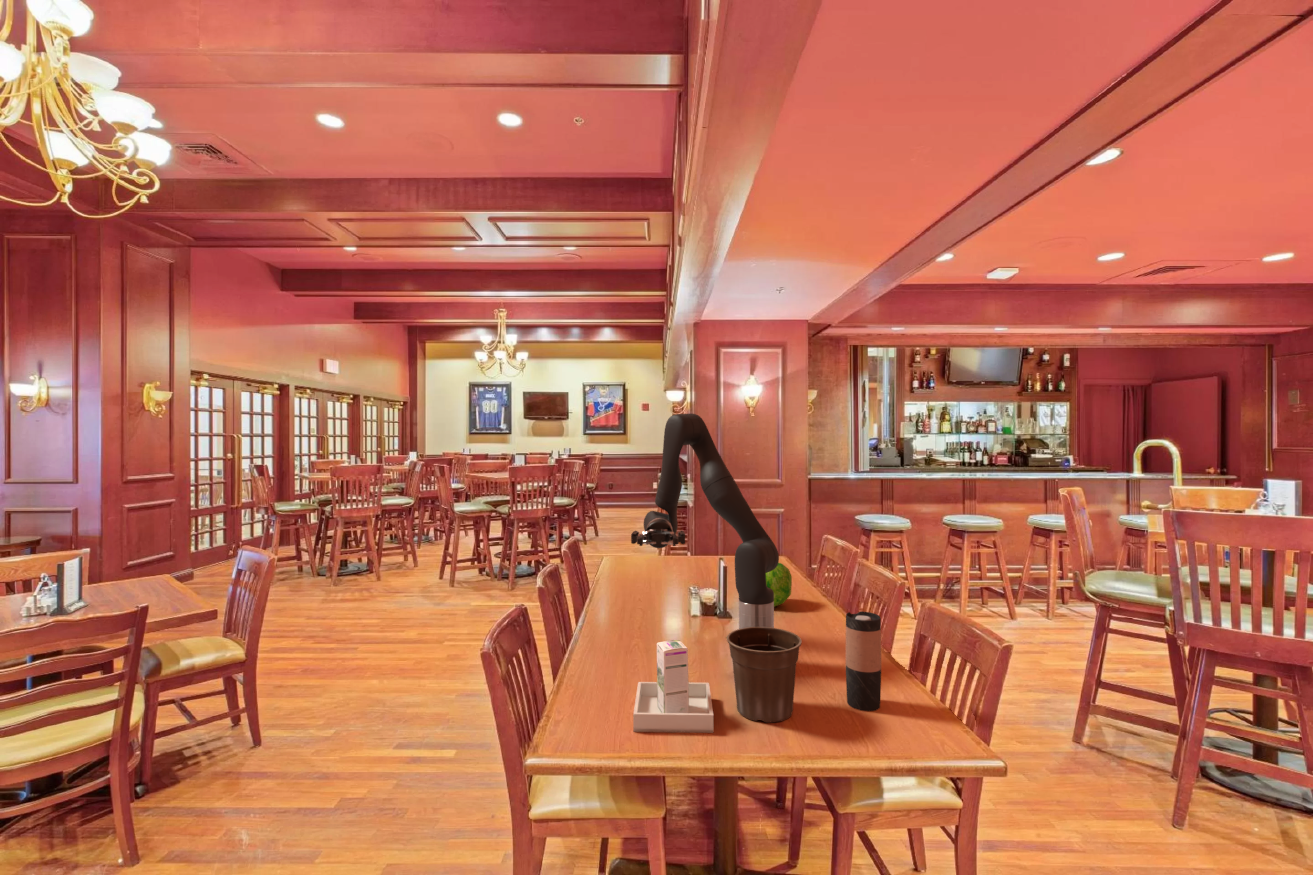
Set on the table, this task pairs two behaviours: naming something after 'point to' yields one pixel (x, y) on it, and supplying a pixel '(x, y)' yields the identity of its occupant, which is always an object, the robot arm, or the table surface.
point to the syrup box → (672, 677)
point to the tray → (654, 720)
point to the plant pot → (764, 671)
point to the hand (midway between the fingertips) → (657, 541)
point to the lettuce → (779, 583)
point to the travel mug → (863, 660)
